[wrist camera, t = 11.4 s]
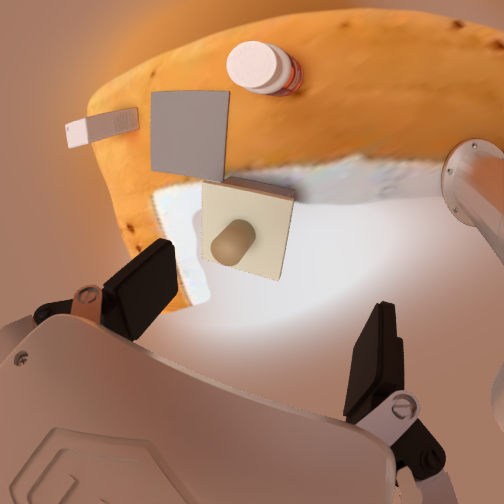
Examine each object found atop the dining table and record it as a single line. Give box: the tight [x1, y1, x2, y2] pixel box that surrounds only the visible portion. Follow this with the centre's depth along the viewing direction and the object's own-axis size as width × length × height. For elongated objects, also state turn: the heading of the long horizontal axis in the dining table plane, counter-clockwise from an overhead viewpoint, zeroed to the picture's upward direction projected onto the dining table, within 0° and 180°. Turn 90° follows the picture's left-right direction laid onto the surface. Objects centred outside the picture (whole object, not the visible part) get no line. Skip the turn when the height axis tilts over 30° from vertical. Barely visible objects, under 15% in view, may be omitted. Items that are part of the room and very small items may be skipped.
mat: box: [151, 91, 230, 182], centre depth 39 cm, size 14×14×1 cm
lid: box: [202, 180, 294, 281], centre depth 35 cm, size 12×12×6 cm
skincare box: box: [65, 107, 139, 148], centre depth 36 cm, size 6×4×12 cm
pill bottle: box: [227, 41, 303, 96], centre depth 26 cm, size 6×6×11 cm
